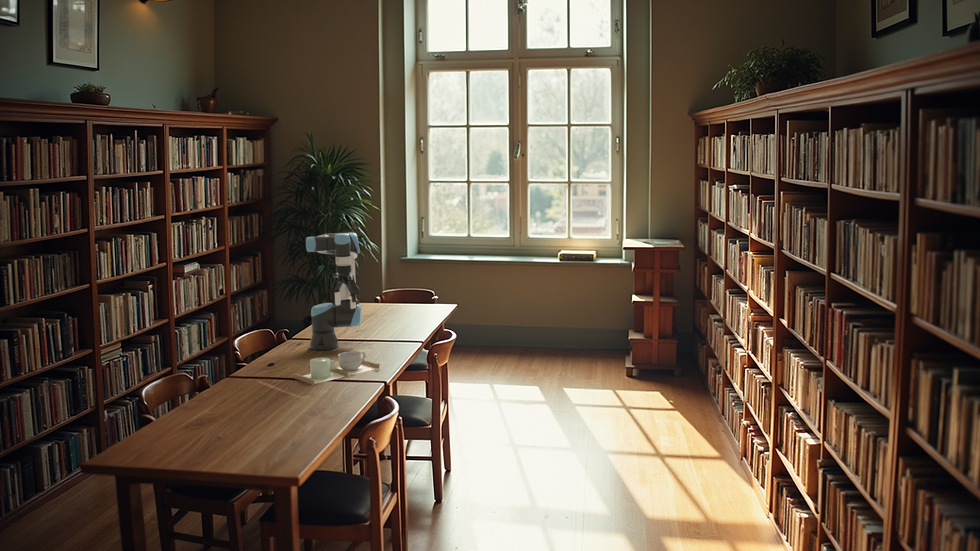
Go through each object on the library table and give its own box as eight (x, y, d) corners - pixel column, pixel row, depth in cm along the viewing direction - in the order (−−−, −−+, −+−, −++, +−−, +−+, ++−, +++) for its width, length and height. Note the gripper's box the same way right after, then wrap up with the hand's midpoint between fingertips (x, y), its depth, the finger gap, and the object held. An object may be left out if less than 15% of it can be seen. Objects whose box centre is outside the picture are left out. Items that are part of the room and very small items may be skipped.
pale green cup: (307, 377, 387) (306, 360, 386) (328, 372, 395) (327, 355, 394) (317, 380, 381) (316, 363, 380) (339, 375, 389) (338, 358, 388)
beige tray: (293, 380, 387) (293, 373, 386) (360, 364, 412) (359, 358, 411) (312, 386, 375) (312, 380, 375) (379, 370, 400) (379, 363, 400)
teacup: (342, 373, 392) (342, 357, 390) (335, 368, 401) (334, 352, 400) (371, 369, 398) (370, 353, 397) (363, 364, 408) (362, 348, 406)
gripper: (323, 263, 422) (325, 304, 426) (351, 267, 405) (353, 310, 408) (335, 261, 428) (338, 302, 431) (364, 266, 410) (366, 308, 413)
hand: (345, 306), depth 419 cm, fingers open, 13 cm apart
